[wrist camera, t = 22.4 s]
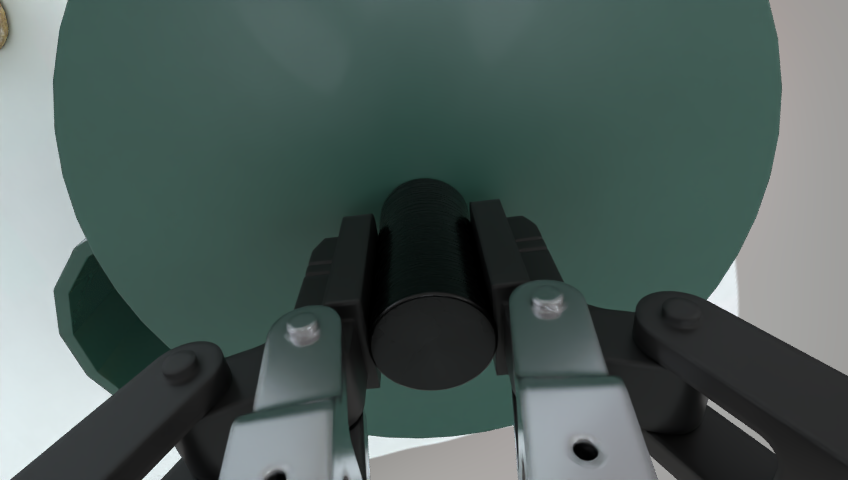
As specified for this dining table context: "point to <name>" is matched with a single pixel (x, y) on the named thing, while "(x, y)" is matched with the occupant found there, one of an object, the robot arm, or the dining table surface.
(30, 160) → the dining table surface
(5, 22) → the sprinkles bottle
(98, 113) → the pot lid
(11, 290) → the dining table surface
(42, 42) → the dining table surface
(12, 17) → the dining table surface
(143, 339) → the pot
